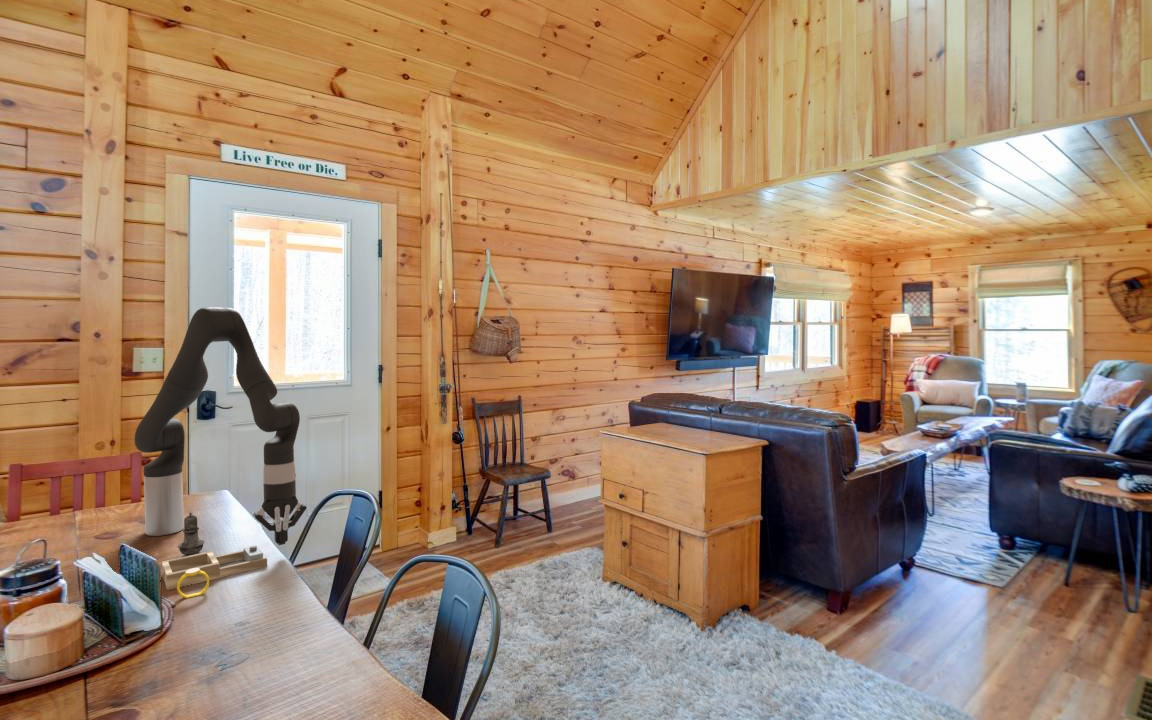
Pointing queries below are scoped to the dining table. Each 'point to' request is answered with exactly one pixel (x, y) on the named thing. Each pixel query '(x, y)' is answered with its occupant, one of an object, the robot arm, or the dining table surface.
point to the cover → (252, 553)
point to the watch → (191, 573)
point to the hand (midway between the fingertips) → (281, 543)
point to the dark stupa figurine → (191, 537)
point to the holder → (205, 567)
